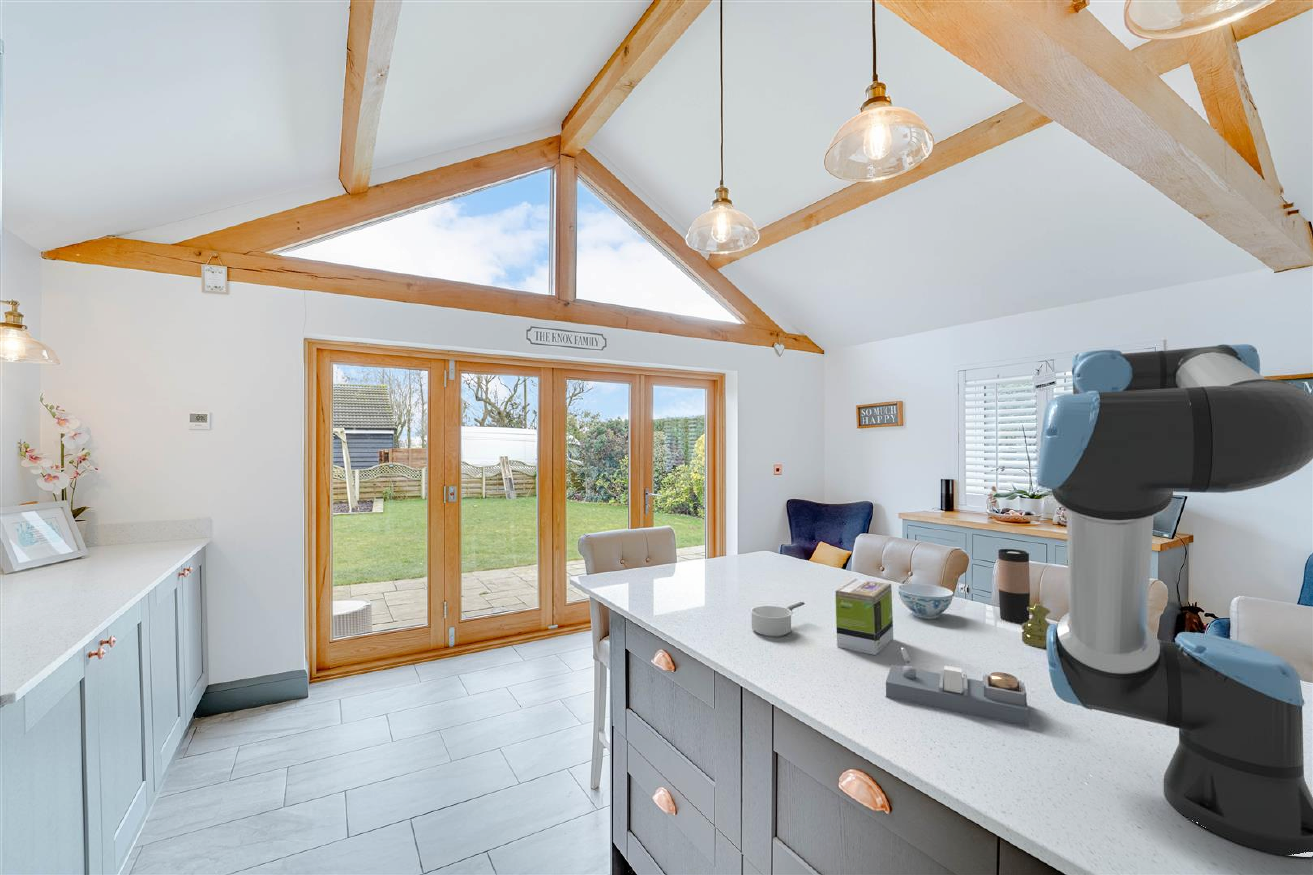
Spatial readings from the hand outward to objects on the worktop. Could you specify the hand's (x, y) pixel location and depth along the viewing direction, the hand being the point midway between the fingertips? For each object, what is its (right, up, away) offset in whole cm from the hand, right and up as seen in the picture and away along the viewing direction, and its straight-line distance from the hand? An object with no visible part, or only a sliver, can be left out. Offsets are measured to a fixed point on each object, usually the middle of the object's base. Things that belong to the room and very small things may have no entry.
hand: (1101, 560), depth 101 cm
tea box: (-29, -31, +39) cm, 58 cm away
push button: (-16, -26, +3) cm, 31 cm away
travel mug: (+22, -31, +57) cm, 69 cm away
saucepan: (-48, -31, +51) cm, 77 cm away
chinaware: (-2, -31, +62) cm, 69 cm away
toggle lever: (-31, -25, +11) cm, 41 cm away
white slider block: (-25, -26, +5) cm, 37 cm away
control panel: (-24, -30, +7) cm, 39 cm away
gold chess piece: (+15, -30, +38) cm, 51 cm away
